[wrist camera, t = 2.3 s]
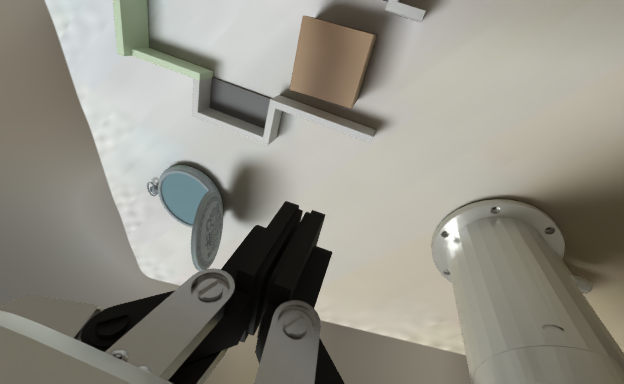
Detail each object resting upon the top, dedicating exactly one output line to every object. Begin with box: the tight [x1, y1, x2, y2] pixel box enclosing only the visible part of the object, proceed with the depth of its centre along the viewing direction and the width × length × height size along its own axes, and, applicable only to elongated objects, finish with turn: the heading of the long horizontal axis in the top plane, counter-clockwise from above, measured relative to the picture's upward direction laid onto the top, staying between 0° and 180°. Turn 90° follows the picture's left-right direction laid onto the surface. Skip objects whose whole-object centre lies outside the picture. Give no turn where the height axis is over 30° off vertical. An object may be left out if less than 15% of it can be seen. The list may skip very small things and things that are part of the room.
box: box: [113, 0, 426, 145], centre depth 27 cm, size 28×20×4 cm
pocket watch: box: [147, 165, 223, 271], centre depth 37 cm, size 10×11×15 cm
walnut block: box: [290, 16, 377, 108], centre depth 26 cm, size 6×6×4 cm
